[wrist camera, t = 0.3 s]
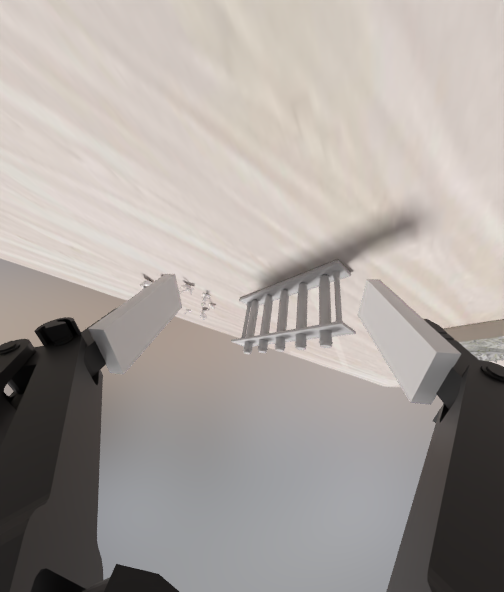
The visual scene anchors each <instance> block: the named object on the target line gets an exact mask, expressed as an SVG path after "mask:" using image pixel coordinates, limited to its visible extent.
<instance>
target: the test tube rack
mask: <svg viewBox="0 0 504 592" xmlns="http://www.w3.org/2000/svg"><path fill="white" fill-rule="evenodd" d="M349 276H351V273H350V271H349V270H348V269H347V268H346V267H345V266H344V265H343V264H342V263H341V262H340V261H339V260H335V261H333V262H330V263H328V264H325V265H322V266H320V267H317V268H315V269H312V270H310V271H307V272H305V273H302V274H300V275H297V276H295V277H292V278H290V279H287V280H285V281H282V282H280V283H277V284H274V285H272V286H269V287H267V288H264V289H262V290H259V291H257V292H254V293H252V294H249V295H247V296H244V297H242V298H240V299H239V301H241V302H243V303H244V304H246V305H247V311H246V316H245V322H244V327H243V333H242V337H241V338H240V339H234V340H232V342H233V343H236V344H239V345H241V346H244V353H245V354H251V352H252V346H258V345H259V346H258V352H261V353H266V350H267V345H268V344H275V350H276V351H280V352H283V351H284V349H285V342H291V341H295V346H296V349H298V350H305V349H306V346H307V345H306V340H308V339H316V338H320V341H319V343H320V347H323V348H330V347H332V345H331V344H332V337H333V336H341V335H349V334H356V332H355V331H354V330H353V329H352V328H350V327H349V326H347V325H346V324H345V323H343V321H342V312H341V296H340V279H343V278H346V277H349ZM330 282H334V285H335V306H336V322H333V323H331V302H330ZM318 286H319V325H316V326H310V327H307V294H308V290H309V289H312V288H315V287H318ZM296 293H298V302H297V321H296V329H293V330H287V331H286V326H287V313H288V300H289V296H290V295H293V294H296ZM278 299H280V303H279V313H278V323H277V332H275V333H269V328H270V320H271V311H272V302H273V301H274V300H278ZM262 304H264V310H263V317H262V324H261V331H260V335H258V336H254V333H255V326H256V320H257V313H258V306H259V305H262ZM250 307H251V310H250ZM249 313H250V316H249ZM248 319H249V322H248ZM247 325H248V327H247ZM246 330H247V333H246ZM245 336H246V338H245Z"/></svg>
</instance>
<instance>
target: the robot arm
mask: <svg viewBox="0 0 504 592" xmlns="http://www.w3.org/2000/svg"><path fill="white" fill-rule="evenodd" d="M181 308H182V304H181V299H180V295H179V290H178V286H177V281H176V276H175V274H165V275H163V276H162V277H161V278H159V279H158V280H156V281H155V282H153V283H152V284H151V285H149V286H148V287H146V288H145V289H144V290H142V291H141V292H139V293H138V294H136V295H135V296H134V297H132V298H131V299H129V300H128V301H127V302H125V303H124V304H122V305H121V306H120V307H118V308H116V309H114V310H112V311H111V312H110V313H108V314H107V315H106V316H104V317H102V318H101V320H98V321H97V322H95V323H94V324H92V325H91V326H90V327H88V328H87V329H85V330H84V331H83V332H80V330H79V329H78V326H77V324H76V323H75V321H74V319H73V318H60V319H56V320H53V321H50V322H47V323H45V324H43V325H41V326H40V327H38V328H37V329H36V330H35V333H36V334H37V336H38V337H39V339H40V340H41V342H42V344H43V345H44V346H40V347H33V345H32V344H31V342H30V341H29V340H27V339H20V340H15V341H10V342H8V343H4V344H2V345H1V346H0V592H179V591H178V590H177V589H175V588H174V587H173V586H172V585H171V584H170V583H169V582H167V581H166V580H165V579H164V578H163V577H162V576H160V575H159V574H156V573H152V572H148V571H144V570H140V569H135V568H131V567H127V566H122V565H118V564H116V566H115V568H114V570H113V573H112V575H111V577H110V578H108V579H105V580H103V567H102V559H101V556H100V552H99V549H98V544H97V513H98V487H99V485H98V484H99V460H100V433H101V406H102V379H103V375H102V372H101V370H100V369H101V368H102V367H103V366H104V365H105V364H106V366H107V368H108V369H109V372H110V373H117V374H124V373H125V372H126V371H127V370H128V369H129V368H130V367H131V365H132V364H133V363H134V362H135V361H136V360H137V358H138V357H139V356H140V355H141V354H142V353H143V352H144V350H145V349H146V348H147V347H148V346H149V345H150V343H151V342H152V341H153V340H154V339H155V338H156V337H157V335H158V334H159V333H160V332H161V331H162V330H163V329H164V327H165V326H166V325H167V324H168V323H169V322H170V320H171V319H172V318H173V317H174V316H175V315H176V314H177V312H178V311H179V310H180V309H181ZM358 317H359V318H360V320H361V322H362V323H363V325H364V327H365V328H366V330H367V332H368V333H369V335H370V337H371V338H372V340H373V342H374V343H375V345H376V346H377V348H378V350H379V351H380V353H381V355H382V356H383V358H384V360H385V361H386V363H387V365H388V366H389V368H390V370H391V371H392V373H393V375H394V376H395V378H396V380H397V381H398V383H399V385H400V386H401V388H402V389H403V391H404V393H405V394H406V396H407V398H408V399H409V401H410V402H411V403H420V404H431V403H432V402H433V400H434V399H435V397H436V395H438V396H439V398H440V399H441V400H442V401H443V403H444V404H443V406H442V407H441V409H440V410H439V412H438V413H437V415H436V416H435V418H434V419H433V421H434V422H435V423H436V425H435V428H434V432H433V435H432V439H431V442H430V446H429V449H428V452H427V456H426V459H425V463H424V466H423V470H422V473H421V476H420V480H419V483H418V487H417V490H416V494H415V497H414V500H413V503H412V507H411V510H410V514H409V517H408V521H407V524H406V527H405V531H404V534H403V538H402V541H401V545H400V548H399V551H398V555H397V558H396V562H395V565H394V568H393V572H392V575H391V578H390V582H389V585H388V589H387V592H504V367H503V366H500V365H498V364H495V363H492V362H488V361H483V360H478V359H477V358H476V357H475V356H474V355H473V354H471V353H470V352H469V351H468V350H467V349H466V348H465V347H463V346H462V345H461V344H460V343H459V342H458V341H456V340H454V338H453V337H452V336H451V335H449V334H447V332H446V331H445V330H444V329H442V328H441V327H440V326H439V325H437V324H435V323H433V322H431V321H430V320H428V319H423V318H421V317H420V316H419V315H418V314H417V313H416V312H415V311H414V310H413V309H412V308H410V307H409V306H408V305H407V304H406V303H405V302H404V301H403V300H402V299H401V298H399V297H398V296H397V295H396V294H395V293H394V292H393V291H392V290H391V289H390V288H388V287H387V286H386V285H385V284H384V283H383V282H382V281H381V280H374V279H367V281H366V285H365V289H364V293H363V297H362V301H361V305H360V308H359V312H358ZM6 384H8V385H9V386H10V387H11V388H12V389H13V391H14V392H13V393H12V394H11V395H10V396H7V395H6V394H5V393H4V388H5V386H6Z"/></svg>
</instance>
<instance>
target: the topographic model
mask: <svg viewBox="0 0 504 592" xmlns="http://www.w3.org/2000/svg"><path fill="white" fill-rule="evenodd" d="M444 330H445V331H446V332H447V334H449V335H451V336H452V337H453V338H454V340H456V341H458V342H459V343H460V344H461V345H462V346H463V347H465V348H466V349H467V350H468V351H469V352H470V353H471V354H473V355H474V356H475V357H476V358H477V359H478V360H483V361H488V362H489V361H494V362H496V363H497V361H496V360H504V319H503V320H497V321H490V322H484V323H478V324H471V325H465V326H458V327H452V328H446V329H444Z"/></svg>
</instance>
